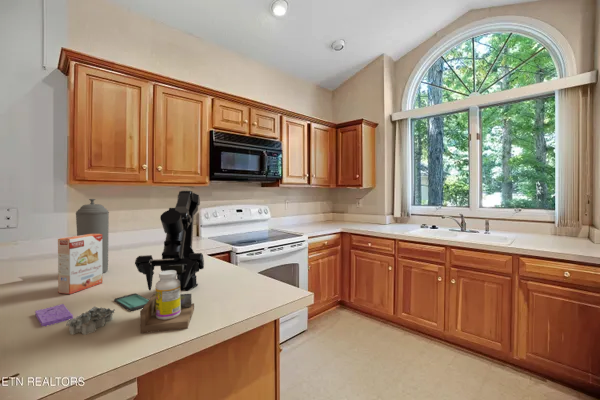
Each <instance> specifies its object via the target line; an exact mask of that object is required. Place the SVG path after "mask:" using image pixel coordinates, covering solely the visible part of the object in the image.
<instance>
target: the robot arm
mask: <svg viewBox="0 0 600 400" xmlns="http://www.w3.org/2000/svg"><path fill="white" fill-rule="evenodd" d="M200 205H201V198H200V196H199V194H197V193H195V192H194V191H193V190H181V191H180V190H179V192H178V194H177V201H176V205H175V206H174V207H169V208H168V209H167V210H166V211H164V212H163V213H162V214H160V219H159V220H160V221H161V226H162V228H163V232H164V233H165V234H166V235H165V239H164V242H163V244H164V245H163V250H162V252H161V258H159V259H158V258H157V259H153V256H152V255H151V254H150V255H147V254H146V255H138V256H137V257H136V258H135V261H134V265H135V266H136V267H135V268H137V271H138V272H139V273H142V275H145V277H146V284H147V288H148V291H151V290H152V288H153V279H154V275H155V272H154V270H155V267H160V272H162V271H167V270H175V271H177V276H176V279H178V280H179V281H180V291H190V290H192V289H193V288H195V287H197V286H198V285H199V284H198V283H197V275H196V274H197V273H198V272H200V270H203V269H205V259H204V255H203V253H202V252H196V253H195V250H194V249H193V237H194V236H193V235H194V223H195V222H194V220H195V218H194V217H195V215H196V214H197V212H198V211H199V206H200Z"/></svg>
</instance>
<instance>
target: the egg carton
mask: <svg viewBox="0 0 600 400" xmlns="http://www.w3.org/2000/svg"><path fill="white" fill-rule="evenodd" d="M115 311H116V309H115V308H114V309H111V308H105V307H97V306H93V307H91V308H90V309H89V310H88V311H85V312H82V313H81V314H79V315H77V316H76V317H73V319H70V320H67V322H66V325H65V327H68V326H69V328H68V329H69V334H70V335H75V334H78V332H79V333H82V334H81V335H87V334H91V333H94V332H96V331H97V329H98V328H101V327H103V326H105V323H106V322H111V321H113V314H115ZM90 319H91V320H90Z"/></svg>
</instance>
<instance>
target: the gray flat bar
mask: <svg viewBox="0 0 600 400" xmlns="http://www.w3.org/2000/svg"><path fill="white" fill-rule="evenodd" d="M192 299H193V298H192V293H183V294H182V293H180V300H181V308H191V306H192V304H193V301H192Z"/></svg>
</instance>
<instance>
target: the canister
mask: <svg viewBox="0 0 600 400" xmlns="http://www.w3.org/2000/svg"><path fill="white" fill-rule="evenodd" d="M88 200H89V201H90V203H89V204H84V205H82V206H80V208H78V210H77V211H76V212H75V223H76V224H75V225H76V236H80V235H87V234H102V274H104V273H106V272H108V270H109V230H110V229H109V225H110V223H109V217H110V216H109V213H110V212H109V210H108V209H107V208H106V207H105V206H104V205H102V204H98V203H97V204H95V201H96V199H95V198H89V199H88Z"/></svg>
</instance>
